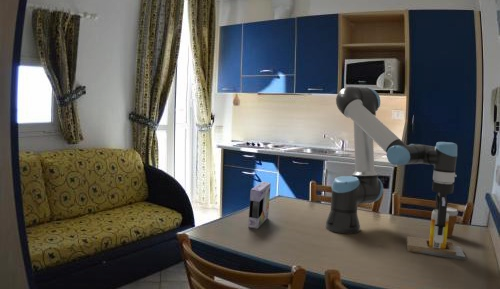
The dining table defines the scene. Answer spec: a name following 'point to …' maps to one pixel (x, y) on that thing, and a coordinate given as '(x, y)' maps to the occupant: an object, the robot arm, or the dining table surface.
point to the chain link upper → (421, 244)
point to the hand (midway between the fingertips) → (437, 239)
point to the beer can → (433, 230)
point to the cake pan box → (259, 204)
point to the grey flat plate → (458, 254)
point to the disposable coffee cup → (451, 220)
